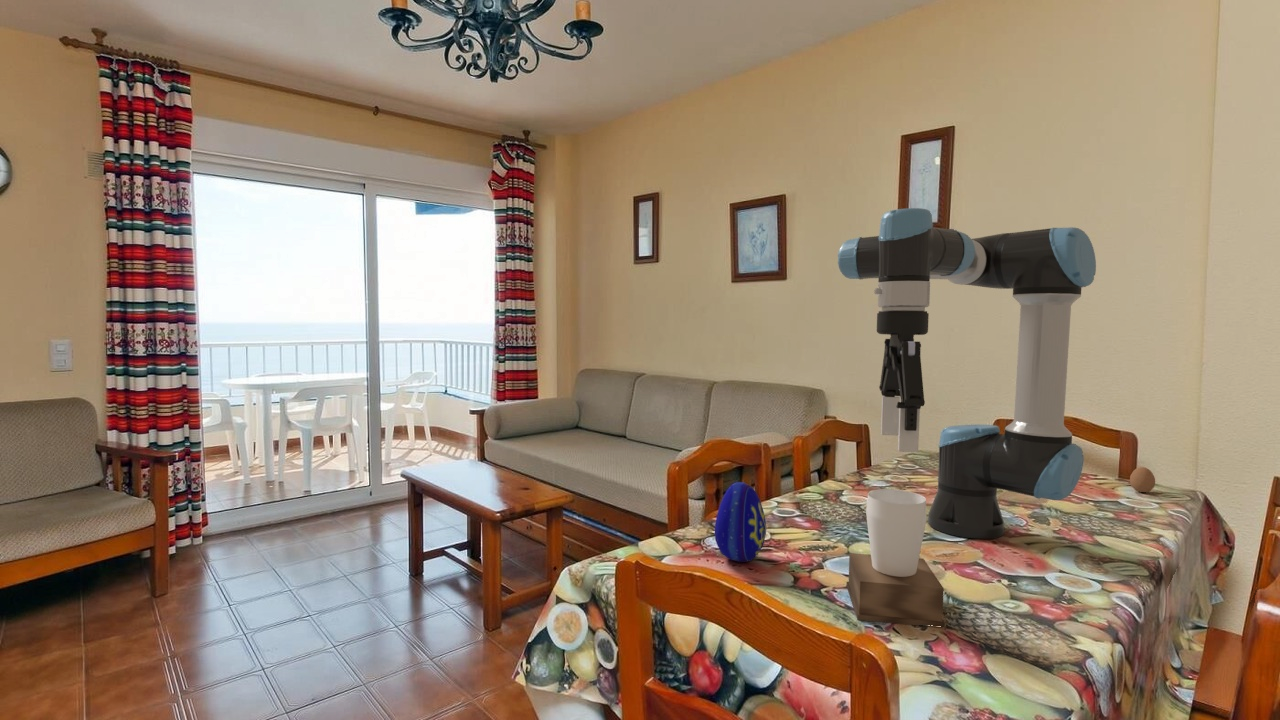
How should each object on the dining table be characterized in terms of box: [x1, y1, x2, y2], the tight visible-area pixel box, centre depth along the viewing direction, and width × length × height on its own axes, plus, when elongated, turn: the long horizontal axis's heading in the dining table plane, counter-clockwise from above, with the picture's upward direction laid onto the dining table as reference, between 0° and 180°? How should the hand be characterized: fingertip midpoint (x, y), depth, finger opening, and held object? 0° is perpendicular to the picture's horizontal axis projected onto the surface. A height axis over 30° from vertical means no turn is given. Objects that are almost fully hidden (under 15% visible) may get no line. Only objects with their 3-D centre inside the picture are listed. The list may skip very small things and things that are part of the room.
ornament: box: [714, 481, 767, 563], centre depth 121 cm, size 11×9×15 cm
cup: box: [865, 488, 928, 577], centre depth 102 cm, size 9×9×12 cm
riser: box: [846, 552, 946, 628], centre depth 102 cm, size 13×13×6 cm
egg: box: [1129, 466, 1156, 493], centre depth 171 cm, size 5×5×7 cm
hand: (898, 442), depth 101 cm, fingers open, 13 cm apart
